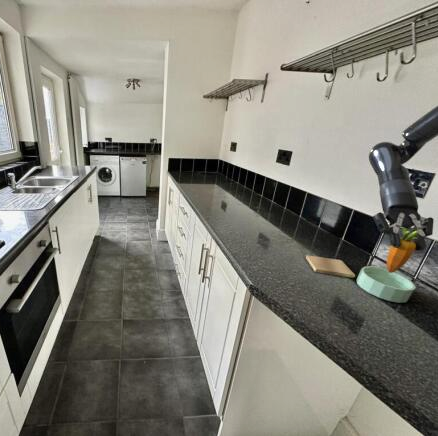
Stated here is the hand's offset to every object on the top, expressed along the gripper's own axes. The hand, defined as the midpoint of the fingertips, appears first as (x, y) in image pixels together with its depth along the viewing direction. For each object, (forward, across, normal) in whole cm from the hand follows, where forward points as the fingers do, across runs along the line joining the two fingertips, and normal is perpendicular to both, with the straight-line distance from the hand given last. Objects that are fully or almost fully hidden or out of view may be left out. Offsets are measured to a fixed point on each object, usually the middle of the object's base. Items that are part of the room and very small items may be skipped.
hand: (408, 248), depth 67 cm
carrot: (+6, 0, +8) cm, 10 cm away
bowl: (+10, 0, +13) cm, 17 cm away
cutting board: (+3, -11, +20) cm, 23 cm away
